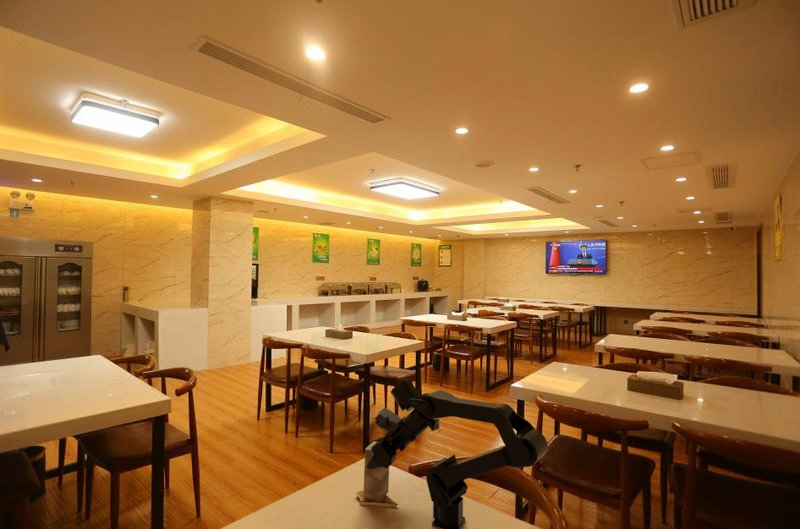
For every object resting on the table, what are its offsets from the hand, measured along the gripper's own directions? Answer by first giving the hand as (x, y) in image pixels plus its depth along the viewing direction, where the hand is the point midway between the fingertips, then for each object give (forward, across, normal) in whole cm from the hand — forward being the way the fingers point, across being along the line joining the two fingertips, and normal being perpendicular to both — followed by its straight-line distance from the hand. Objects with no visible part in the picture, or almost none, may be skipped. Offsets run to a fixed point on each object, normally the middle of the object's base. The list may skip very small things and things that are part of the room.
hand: (375, 460), depth 108 cm
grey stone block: (+6, +1, +7) cm, 9 cm away
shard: (+7, 0, +8) cm, 11 cm away
